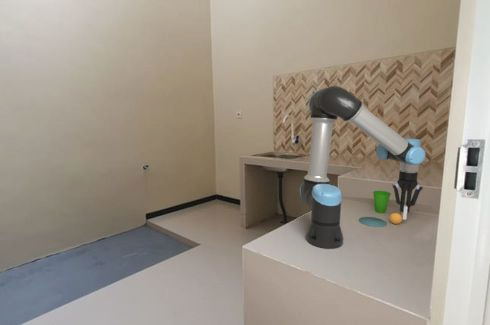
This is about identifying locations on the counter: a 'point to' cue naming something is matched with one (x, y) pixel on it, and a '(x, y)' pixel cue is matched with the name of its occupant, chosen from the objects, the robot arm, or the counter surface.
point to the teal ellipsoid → (372, 221)
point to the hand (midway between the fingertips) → (403, 218)
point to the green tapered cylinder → (381, 201)
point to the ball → (395, 218)
